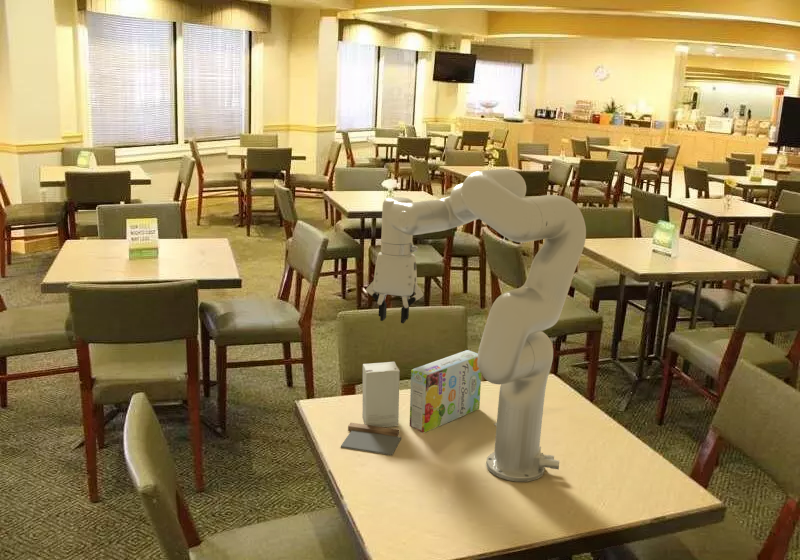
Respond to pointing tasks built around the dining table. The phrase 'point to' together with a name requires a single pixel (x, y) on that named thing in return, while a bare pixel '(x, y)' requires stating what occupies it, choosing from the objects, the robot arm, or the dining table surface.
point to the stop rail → (373, 429)
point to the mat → (371, 442)
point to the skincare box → (381, 394)
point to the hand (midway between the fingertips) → (393, 319)
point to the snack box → (444, 390)
